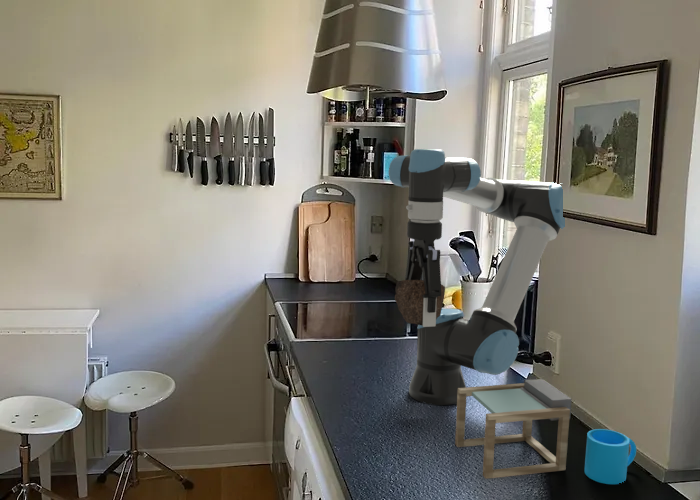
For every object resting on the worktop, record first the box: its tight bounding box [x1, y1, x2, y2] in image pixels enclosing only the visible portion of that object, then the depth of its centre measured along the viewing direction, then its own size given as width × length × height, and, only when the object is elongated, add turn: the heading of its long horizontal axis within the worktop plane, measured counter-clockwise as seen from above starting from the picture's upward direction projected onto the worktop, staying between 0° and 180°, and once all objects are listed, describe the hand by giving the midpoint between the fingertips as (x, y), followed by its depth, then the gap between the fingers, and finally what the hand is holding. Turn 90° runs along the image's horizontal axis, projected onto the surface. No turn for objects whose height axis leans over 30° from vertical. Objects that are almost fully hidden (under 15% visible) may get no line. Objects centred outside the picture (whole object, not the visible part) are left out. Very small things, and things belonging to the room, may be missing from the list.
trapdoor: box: [471, 378, 573, 422], centre depth 147 cm, size 12×17×4 cm
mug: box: [584, 428, 637, 485], centre depth 142 cm, size 12×8×8 cm
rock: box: [394, 279, 446, 326], centre depth 152 cm, size 12×10×10 cm
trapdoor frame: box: [454, 382, 571, 479], centre depth 148 cm, size 16×18×13 cm
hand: (421, 320), depth 154 cm, fingers closed on rock, 9 cm apart
